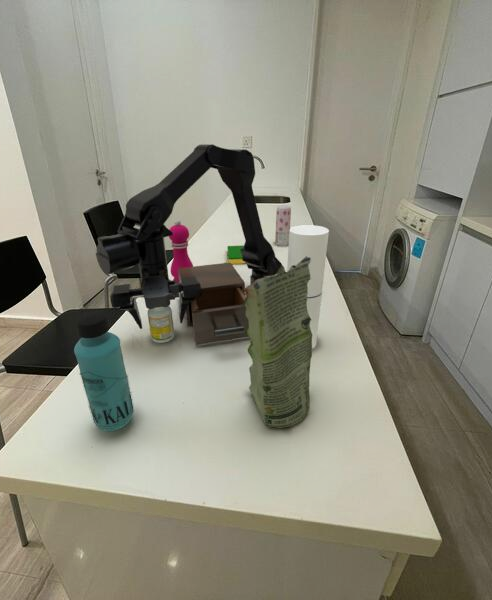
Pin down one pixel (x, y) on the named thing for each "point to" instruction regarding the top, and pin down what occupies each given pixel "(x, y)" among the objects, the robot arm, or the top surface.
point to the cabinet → (212, 279)
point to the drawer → (219, 315)
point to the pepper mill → (179, 248)
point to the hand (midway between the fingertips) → (161, 325)
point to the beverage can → (282, 225)
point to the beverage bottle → (103, 372)
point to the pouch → (280, 344)
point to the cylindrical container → (310, 265)
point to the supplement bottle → (161, 324)
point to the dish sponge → (235, 255)
